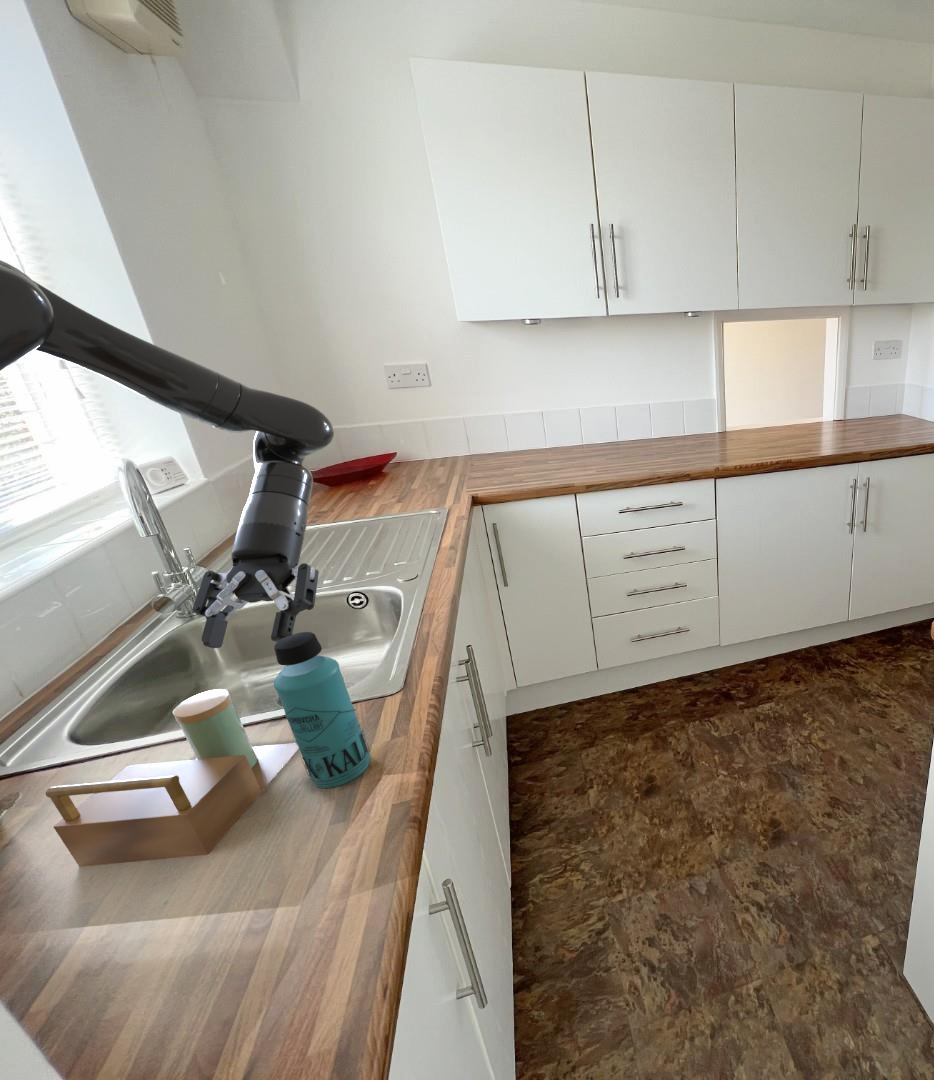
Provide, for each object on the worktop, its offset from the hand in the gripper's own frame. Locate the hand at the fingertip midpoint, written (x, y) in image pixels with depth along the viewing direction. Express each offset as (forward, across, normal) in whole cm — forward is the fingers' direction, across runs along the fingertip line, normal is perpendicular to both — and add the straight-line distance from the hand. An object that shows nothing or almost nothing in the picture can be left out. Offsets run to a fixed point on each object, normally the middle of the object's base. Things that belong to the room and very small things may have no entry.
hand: (245, 644), depth 76 cm
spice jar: (+15, 0, +2) cm, 15 cm away
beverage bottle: (+18, +14, +2) cm, 23 cm away
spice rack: (+19, 0, 0) cm, 19 cm away
